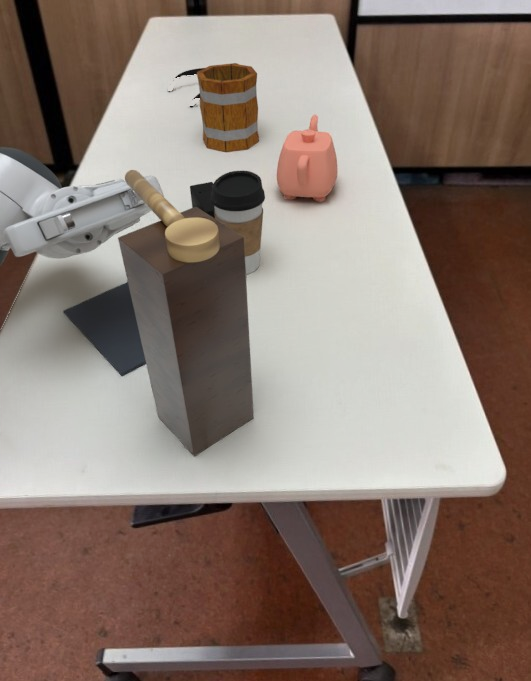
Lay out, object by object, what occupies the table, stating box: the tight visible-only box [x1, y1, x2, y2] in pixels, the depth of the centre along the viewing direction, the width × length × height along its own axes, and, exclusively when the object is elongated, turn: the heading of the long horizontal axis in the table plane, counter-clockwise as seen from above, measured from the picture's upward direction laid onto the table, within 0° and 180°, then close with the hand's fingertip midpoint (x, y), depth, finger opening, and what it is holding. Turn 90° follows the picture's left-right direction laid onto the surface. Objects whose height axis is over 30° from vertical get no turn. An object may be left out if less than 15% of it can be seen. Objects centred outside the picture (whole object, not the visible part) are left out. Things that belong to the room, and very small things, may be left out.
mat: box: [62, 281, 146, 377], centre depth 85 cm, size 18×12×1 cm, turn 40°
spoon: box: [124, 169, 220, 262], centre depth 56 cm, size 18×5×2 cm, turn 31°
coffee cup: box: [211, 170, 266, 275], centre depth 91 cm, size 8×8×15 cm
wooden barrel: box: [196, 62, 260, 153], centre depth 132 cm, size 20×14×15 cm
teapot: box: [276, 114, 339, 202], centre depth 112 cm, size 20×12×12 cm, turn 170°
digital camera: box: [189, 181, 215, 218], centre depth 102 cm, size 10×5×7 cm, turn 21°
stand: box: [117, 207, 255, 457], centre depth 63 cm, size 8×9×26 cm
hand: (105, 207), depth 66 cm, fingers open, 8 cm apart
